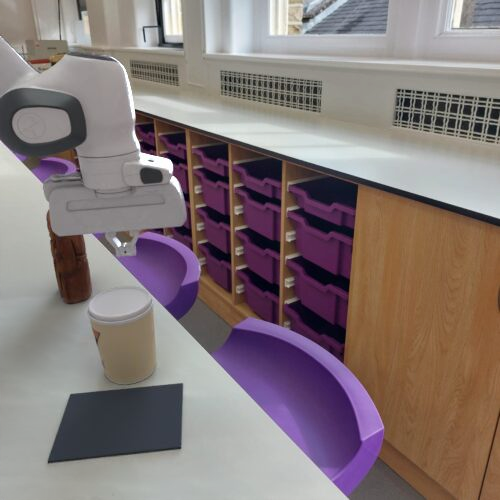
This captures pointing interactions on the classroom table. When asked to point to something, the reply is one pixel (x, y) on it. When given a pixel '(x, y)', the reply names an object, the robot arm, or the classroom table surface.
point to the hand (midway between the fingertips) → (126, 254)
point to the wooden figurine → (70, 265)
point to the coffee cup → (124, 333)
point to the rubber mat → (119, 423)
